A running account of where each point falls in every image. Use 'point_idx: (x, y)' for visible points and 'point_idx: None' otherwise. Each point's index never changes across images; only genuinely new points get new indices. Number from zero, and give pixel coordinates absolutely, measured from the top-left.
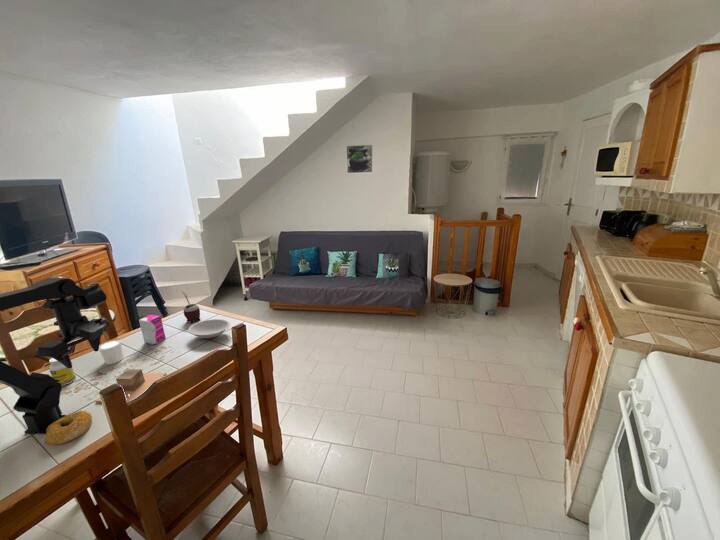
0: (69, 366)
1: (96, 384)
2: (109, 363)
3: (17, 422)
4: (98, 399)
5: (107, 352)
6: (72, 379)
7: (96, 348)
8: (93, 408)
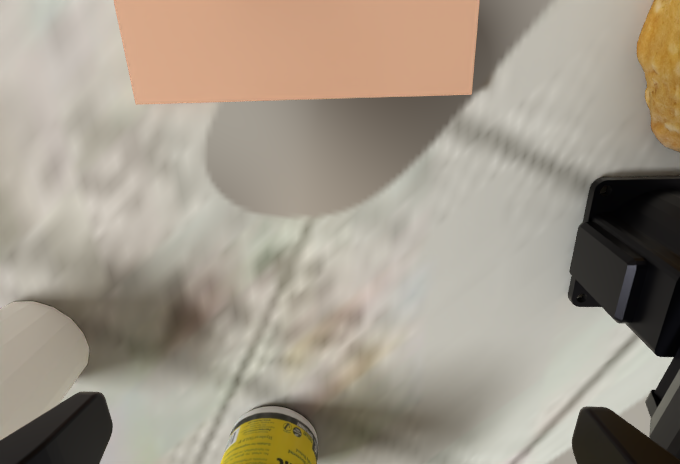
0: (650, 446)
1: (280, 255)
2: (82, 341)
3: (587, 399)
4: (459, 79)
5: (10, 398)
6: (268, 415)
7: (62, 441)
8: (529, 56)
